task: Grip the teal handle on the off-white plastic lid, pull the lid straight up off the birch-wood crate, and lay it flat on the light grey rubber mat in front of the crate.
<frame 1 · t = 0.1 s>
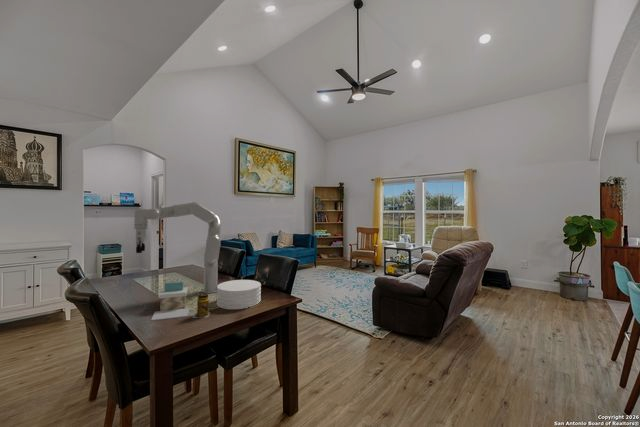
hand: (140, 251, 186), 31 cm above the table, tool pointing down, fingers open, 9 cm apart
crate: (173, 306, 171), on the table
condiment: (201, 315, 157), on the table
mat: (171, 314, 157), on the table
plate stack: (239, 302, 182), on the table
lid: (173, 293, 171), point 8 cm above the table, touching crate
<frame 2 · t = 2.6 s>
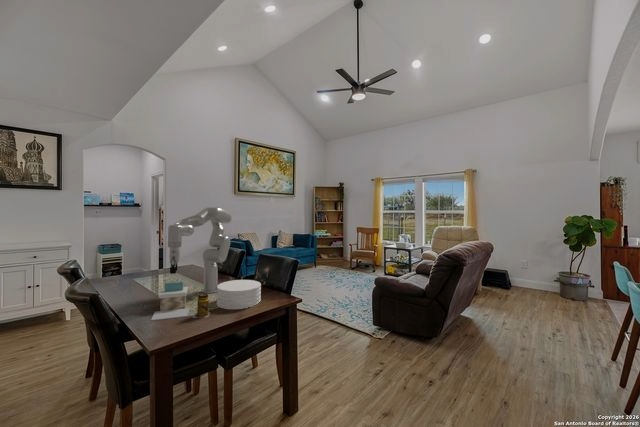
hand: (173, 272, 170), 22 cm above the table, tool pointing down, fingers open, 9 cm apart
nothing on the table moved.
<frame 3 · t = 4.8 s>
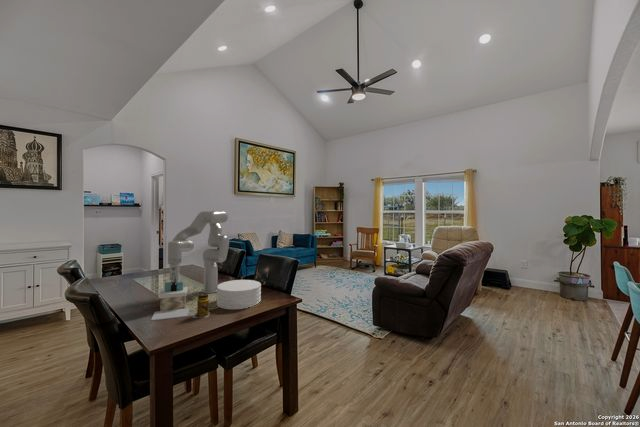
hand: (174, 289, 171), 10 cm above the table, tool pointing down, fingers closed on lid, 3 cm apart
lid: (173, 293, 171), point 8 cm above the table, touching crate, gripper
everything else where it was.
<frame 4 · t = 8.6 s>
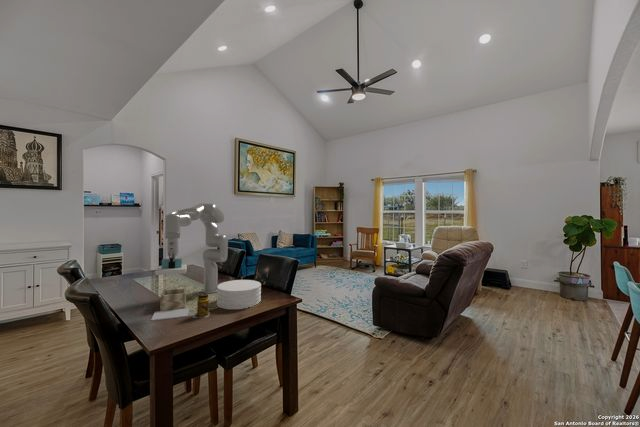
hand: (172, 267, 157), 27 cm above the table, tool pointing down, fingers closed on lid, 3 cm apart
lid: (171, 271, 157), point 25 cm above the table, touching gripper
everything else where it was.
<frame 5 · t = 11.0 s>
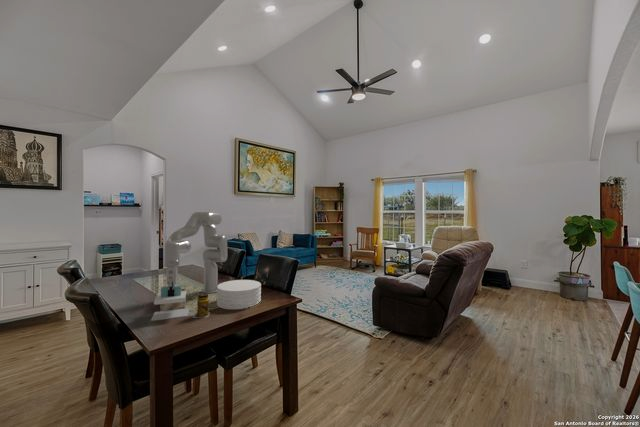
hand: (171, 295, 157), 11 cm above the table, tool pointing down, fingers closed on lid, 3 cm apart
lid: (171, 299, 157), point 9 cm above the table, touching gripper
everything else where it was.
when the fingers open (5 cm above the table, at t = 12.8 s): lid drops 2 cm, resting on mat.
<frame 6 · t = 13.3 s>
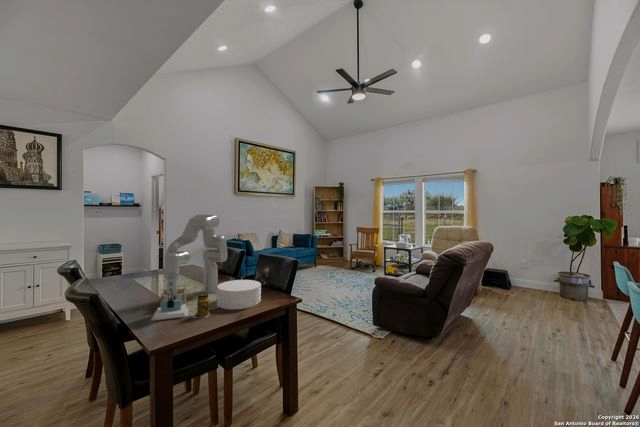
hand: (171, 305, 157), 5 cm above the table, tool pointing down, fingers open, 8 cm apart
lid: (171, 313, 157), point 1 cm above the table, touching mat
everything else where it was.
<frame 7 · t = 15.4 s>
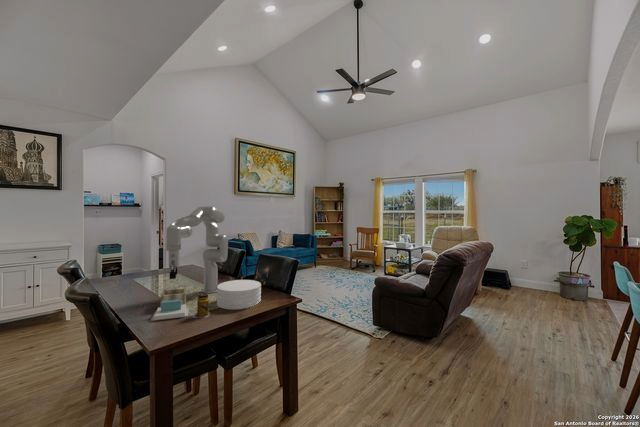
hand: (173, 276, 160), 21 cm above the table, tool pointing down, fingers open, 9 cm apart
nothing on the table moved.
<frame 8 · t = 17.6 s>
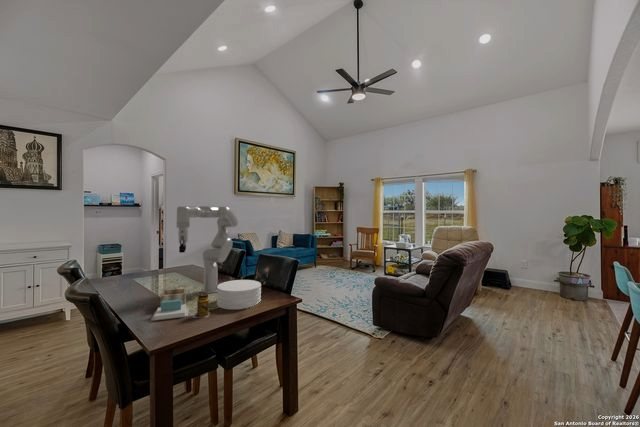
hand: (182, 251, 179), 33 cm above the table, tool pointing down, fingers open, 9 cm apart
nothing on the table moved.
at the end: lid inside the target area on the mat (0.1 cm from its centre), point 0.6 cm above the mat's base; lid tilted 0°; the gripper is holding nothing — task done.
